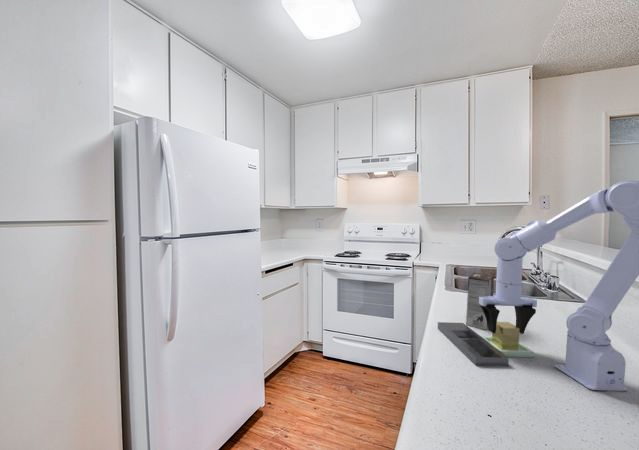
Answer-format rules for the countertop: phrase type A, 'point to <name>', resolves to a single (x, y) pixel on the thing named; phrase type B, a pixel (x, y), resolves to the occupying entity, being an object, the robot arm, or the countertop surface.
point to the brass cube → (506, 336)
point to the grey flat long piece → (473, 345)
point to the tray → (521, 351)
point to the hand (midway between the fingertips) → (505, 332)
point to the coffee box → (478, 288)
